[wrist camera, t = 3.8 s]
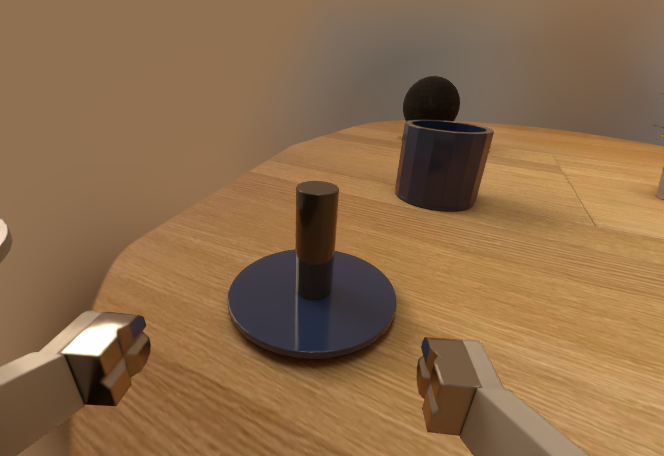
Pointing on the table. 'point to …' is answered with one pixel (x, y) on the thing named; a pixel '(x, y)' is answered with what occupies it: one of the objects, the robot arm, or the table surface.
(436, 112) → the ball on stand
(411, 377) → the table surface
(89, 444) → the table surface
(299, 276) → the lid
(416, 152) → the pot
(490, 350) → the table surface
